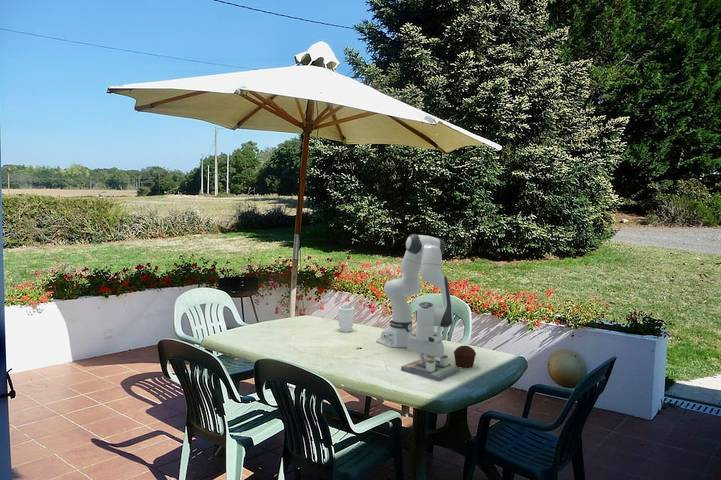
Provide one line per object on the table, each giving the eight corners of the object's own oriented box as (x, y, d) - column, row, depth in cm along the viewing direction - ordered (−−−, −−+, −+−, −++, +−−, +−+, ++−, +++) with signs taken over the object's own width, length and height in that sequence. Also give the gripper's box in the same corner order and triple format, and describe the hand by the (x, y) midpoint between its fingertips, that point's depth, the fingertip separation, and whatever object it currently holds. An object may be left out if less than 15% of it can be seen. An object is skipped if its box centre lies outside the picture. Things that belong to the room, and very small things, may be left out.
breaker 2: (439, 364, 261) (440, 355, 261) (443, 363, 264) (443, 354, 263) (444, 366, 259) (445, 357, 259) (448, 364, 262) (448, 355, 261)
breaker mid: (426, 366, 260) (426, 356, 259) (430, 364, 262) (430, 355, 262) (431, 367, 258) (431, 358, 257) (435, 365, 260) (435, 356, 260)
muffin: (460, 360, 278) (460, 342, 277) (479, 365, 271) (480, 346, 270) (449, 366, 268) (449, 346, 268) (468, 370, 261) (469, 351, 261)
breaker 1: (425, 370, 253) (426, 361, 252) (429, 369, 255) (429, 359, 255) (431, 372, 251) (431, 362, 250) (434, 370, 253) (435, 361, 253)
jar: (336, 329, 340) (336, 306, 339) (351, 328, 344) (351, 305, 342) (340, 333, 330) (340, 309, 329) (356, 332, 333) (356, 308, 332)
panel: (401, 370, 260) (401, 364, 260) (423, 361, 274) (423, 356, 274) (438, 381, 246) (438, 375, 245) (459, 371, 260) (460, 366, 260)
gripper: (404, 332, 266) (404, 359, 267) (438, 340, 252) (437, 368, 253) (412, 330, 270) (411, 356, 271) (445, 338, 257) (445, 365, 258)
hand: (424, 362), depth 262 cm, fingers closed
